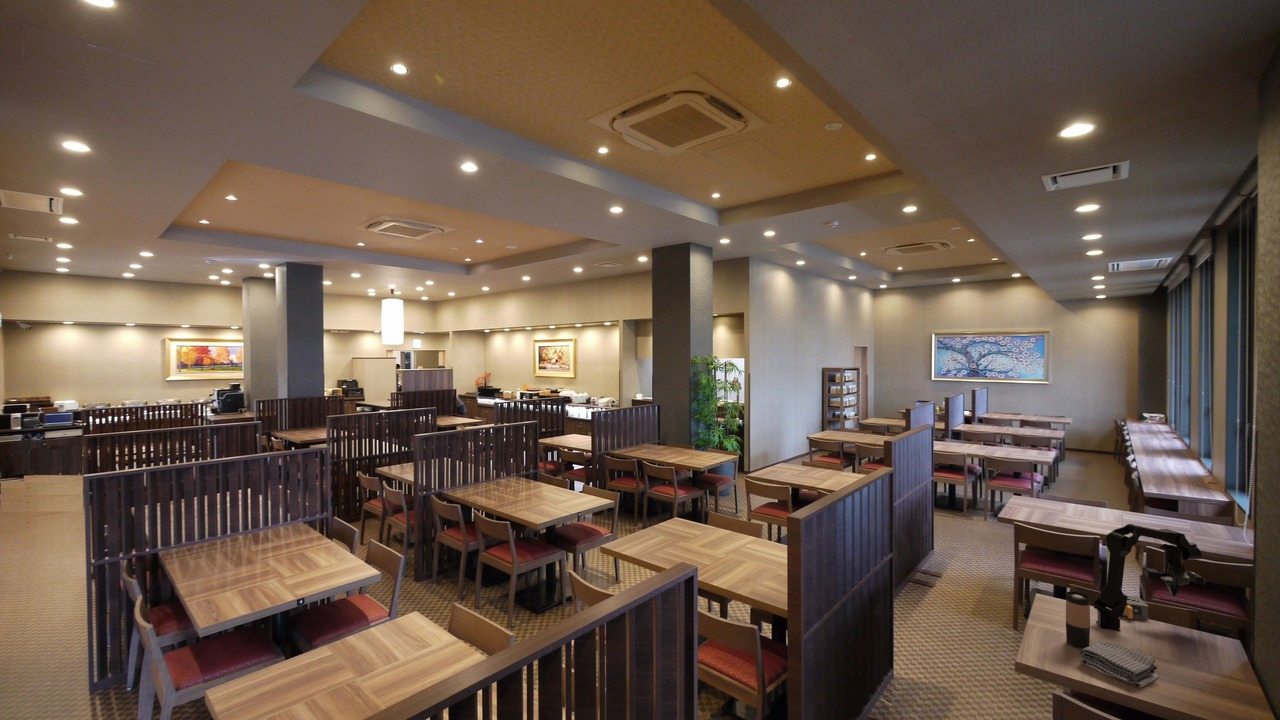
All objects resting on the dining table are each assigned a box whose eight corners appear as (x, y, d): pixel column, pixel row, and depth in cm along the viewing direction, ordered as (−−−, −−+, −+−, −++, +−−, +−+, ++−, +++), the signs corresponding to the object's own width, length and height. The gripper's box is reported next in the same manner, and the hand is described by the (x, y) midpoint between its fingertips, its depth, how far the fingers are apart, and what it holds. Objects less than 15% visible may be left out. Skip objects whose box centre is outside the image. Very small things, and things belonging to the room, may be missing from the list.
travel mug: (1081, 640, 222) (1081, 591, 222) (1095, 650, 215) (1095, 599, 215) (1061, 639, 223) (1061, 590, 223) (1074, 649, 216) (1074, 599, 215)
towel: (1100, 655, 212) (1100, 635, 212) (1161, 680, 195) (1161, 658, 195) (1078, 665, 205) (1078, 644, 205) (1139, 692, 189) (1139, 669, 189)
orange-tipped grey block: (1105, 613, 246) (1105, 598, 246) (1097, 604, 255) (1097, 590, 255) (1148, 619, 240) (1148, 604, 240) (1138, 610, 249) (1138, 595, 249)
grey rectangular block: (1109, 615, 242) (1109, 605, 242) (1106, 611, 246) (1106, 601, 246) (1132, 618, 239) (1132, 608, 239) (1128, 615, 243) (1128, 604, 243)
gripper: (1154, 563, 232) (1154, 600, 232) (1212, 569, 225) (1212, 607, 225) (1142, 554, 242) (1142, 589, 242) (1197, 560, 235) (1197, 596, 235)
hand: (1173, 596), depth 236 cm, fingers closed
